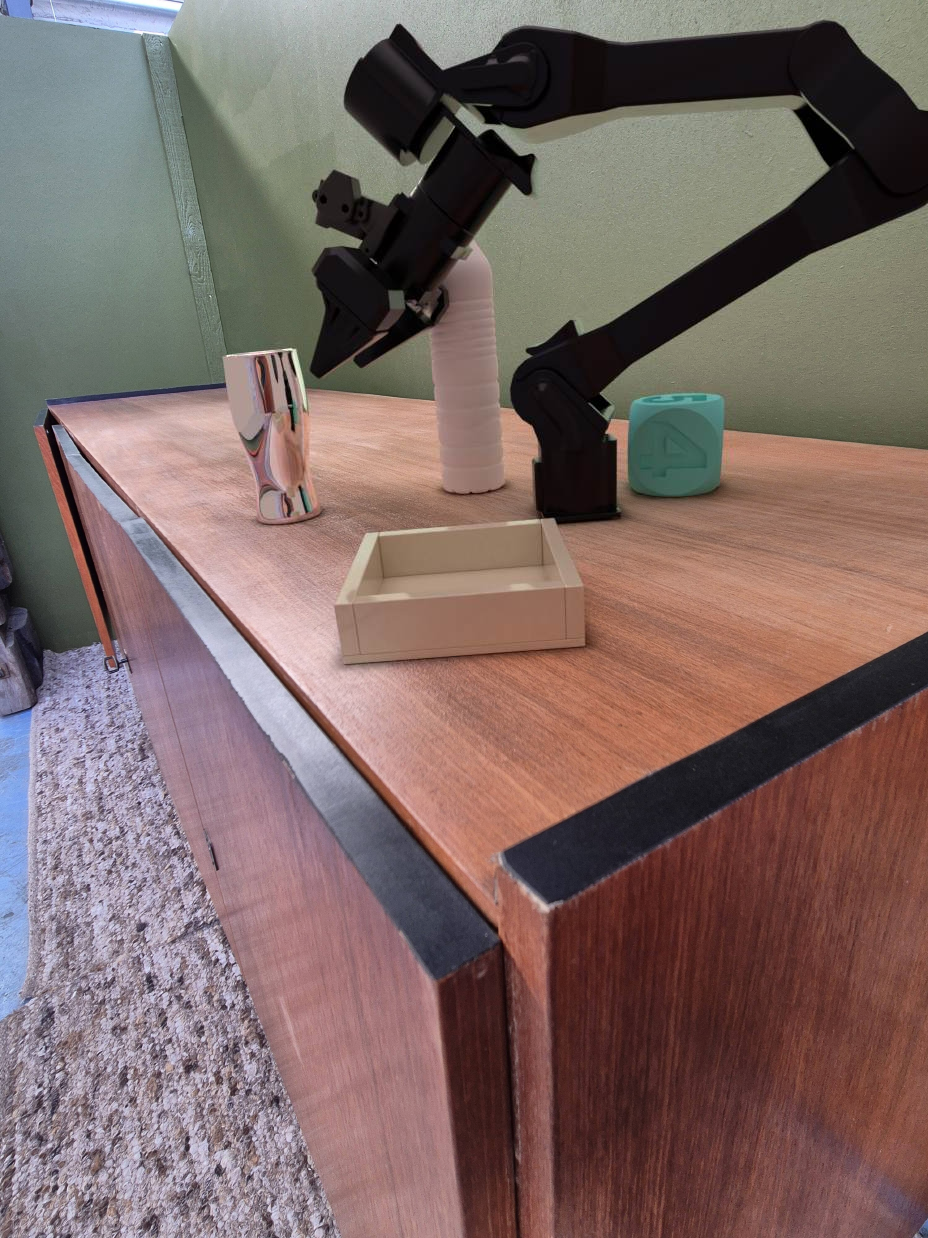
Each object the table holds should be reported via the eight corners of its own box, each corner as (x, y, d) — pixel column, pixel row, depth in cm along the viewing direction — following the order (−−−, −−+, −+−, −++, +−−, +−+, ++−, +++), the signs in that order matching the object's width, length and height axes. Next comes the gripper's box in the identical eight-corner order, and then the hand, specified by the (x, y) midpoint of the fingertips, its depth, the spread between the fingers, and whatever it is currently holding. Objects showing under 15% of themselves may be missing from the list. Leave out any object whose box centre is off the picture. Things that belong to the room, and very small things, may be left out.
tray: (556, 566, 50) (554, 517, 48) (585, 646, 38) (584, 585, 37) (371, 580, 50) (365, 532, 49) (343, 664, 38) (333, 604, 37)
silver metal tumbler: (308, 525, 66) (278, 351, 60) (240, 526, 67) (203, 358, 61) (336, 505, 72) (311, 346, 66) (273, 507, 73) (242, 352, 67)
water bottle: (507, 477, 77) (491, 213, 67) (503, 492, 71) (485, 204, 61) (427, 482, 78) (400, 223, 68) (417, 497, 72) (385, 215, 62)
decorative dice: (719, 497, 63) (725, 402, 60) (626, 497, 65) (627, 407, 62) (718, 476, 70) (723, 391, 66) (634, 477, 72) (635, 395, 69)
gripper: (407, 154, 62) (313, 302, 70) (315, 105, 46) (205, 305, 53) (500, 245, 64) (398, 382, 71) (443, 229, 47) (318, 409, 54)
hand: (337, 369), depth 62 cm, fingers open, 9 cm apart
